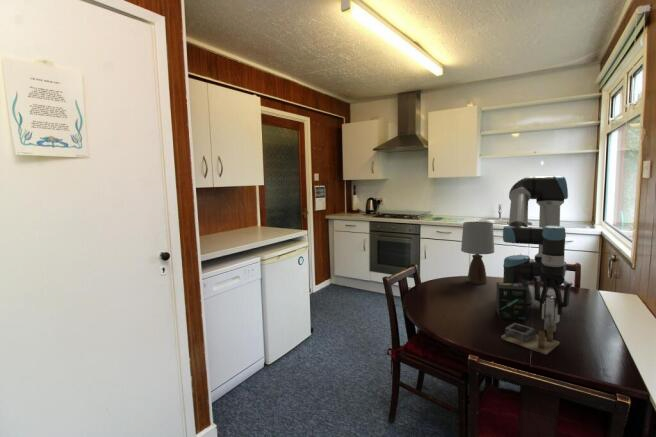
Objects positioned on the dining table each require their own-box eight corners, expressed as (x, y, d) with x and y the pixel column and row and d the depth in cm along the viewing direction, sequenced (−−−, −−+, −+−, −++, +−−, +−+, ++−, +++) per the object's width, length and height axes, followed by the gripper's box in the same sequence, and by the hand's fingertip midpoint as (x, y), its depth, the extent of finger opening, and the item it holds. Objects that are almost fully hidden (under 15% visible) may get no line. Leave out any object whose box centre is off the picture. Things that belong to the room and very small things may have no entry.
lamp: (500, 284, 197) (502, 223, 193) (475, 288, 191) (476, 225, 187) (478, 276, 214) (478, 220, 210) (454, 279, 209) (454, 222, 205)
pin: (542, 329, 135) (543, 296, 133) (546, 326, 137) (547, 294, 135) (553, 332, 131) (555, 299, 130) (557, 329, 134) (558, 296, 132)
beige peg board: (501, 338, 130) (501, 321, 129) (515, 329, 137) (515, 313, 136) (546, 354, 117) (547, 336, 117) (559, 344, 124) (560, 326, 124)
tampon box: (521, 313, 154) (522, 283, 152) (526, 321, 145) (527, 289, 144) (495, 311, 157) (496, 281, 156) (498, 318, 149) (499, 287, 147)
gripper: (525, 262, 135) (524, 316, 138) (574, 270, 122) (571, 329, 125) (533, 259, 140) (531, 311, 143) (581, 266, 126) (578, 324, 129)
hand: (550, 319), depth 134 cm, fingers closed on pin, 4 cm apart
